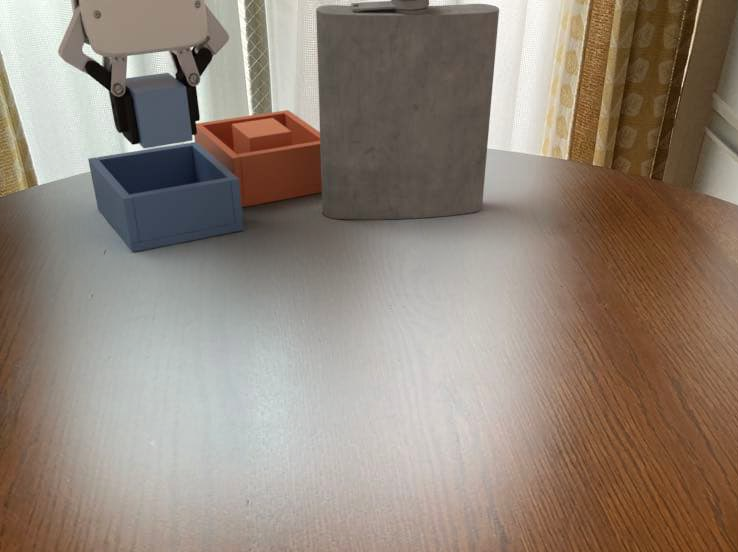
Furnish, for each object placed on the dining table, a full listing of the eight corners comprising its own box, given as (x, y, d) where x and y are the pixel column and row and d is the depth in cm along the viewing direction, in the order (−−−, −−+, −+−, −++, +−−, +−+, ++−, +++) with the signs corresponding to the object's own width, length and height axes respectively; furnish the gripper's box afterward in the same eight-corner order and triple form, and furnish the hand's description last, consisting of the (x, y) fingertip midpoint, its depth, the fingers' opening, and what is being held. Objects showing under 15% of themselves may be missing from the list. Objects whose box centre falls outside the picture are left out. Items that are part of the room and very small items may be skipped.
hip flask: (477, 199, 93) (496, -30, 80) (487, 215, 90) (509, -20, 77) (320, 206, 90) (313, -29, 77) (325, 223, 88) (318, -19, 74)
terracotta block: (252, 184, 92) (249, 137, 89) (235, 169, 95) (231, 123, 92) (293, 177, 94) (291, 131, 91) (275, 162, 97) (273, 117, 94)
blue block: (143, 148, 80) (134, 93, 77) (127, 132, 83) (118, 78, 80) (193, 140, 82) (186, 86, 79) (175, 125, 84) (168, 72, 81)
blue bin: (132, 252, 82) (123, 199, 78) (97, 209, 88) (87, 158, 85) (243, 230, 86) (239, 178, 83) (202, 190, 93) (196, 141, 89)
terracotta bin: (237, 208, 90) (232, 158, 86) (198, 171, 96) (192, 123, 93) (334, 190, 94) (333, 141, 90) (290, 156, 100) (288, 109, 97)
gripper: (209, -126, 75) (232, 109, 88) (-5, -116, 69) (53, 136, 81) (245, -114, 71) (264, 133, 83) (19, -102, 64) (76, 164, 76)
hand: (159, 132), depth 82 cm, fingers closed on blue block, 4 cm apart
